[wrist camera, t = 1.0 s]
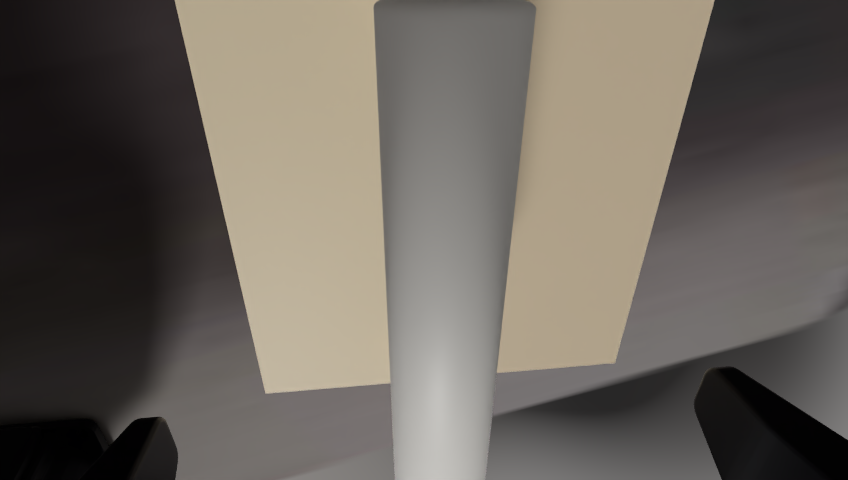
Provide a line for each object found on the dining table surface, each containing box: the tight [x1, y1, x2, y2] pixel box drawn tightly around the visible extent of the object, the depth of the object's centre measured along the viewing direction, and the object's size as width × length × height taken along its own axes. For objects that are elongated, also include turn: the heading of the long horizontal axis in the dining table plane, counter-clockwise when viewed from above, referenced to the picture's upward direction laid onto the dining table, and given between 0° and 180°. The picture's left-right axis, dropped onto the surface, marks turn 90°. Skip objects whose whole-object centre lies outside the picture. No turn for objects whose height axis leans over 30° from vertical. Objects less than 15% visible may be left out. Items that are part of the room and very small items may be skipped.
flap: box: [175, 0, 536, 480], centre depth 12 cm, size 14×6×7 cm, turn 0°
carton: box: [497, 0, 715, 373], centre depth 17 cm, size 14×12×5 cm
